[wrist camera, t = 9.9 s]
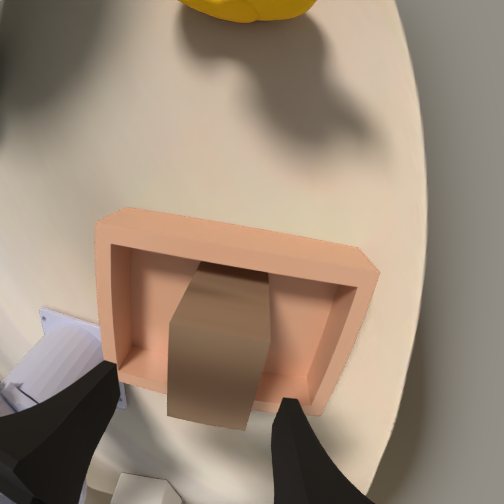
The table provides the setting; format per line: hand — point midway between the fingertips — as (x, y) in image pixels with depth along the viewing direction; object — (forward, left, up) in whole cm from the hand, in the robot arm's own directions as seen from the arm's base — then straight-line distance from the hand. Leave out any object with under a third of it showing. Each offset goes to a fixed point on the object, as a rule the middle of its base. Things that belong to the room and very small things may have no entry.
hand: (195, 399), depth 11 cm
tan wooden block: (0, -1, -8) cm, 8 cm away
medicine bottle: (-33, +6, -9) cm, 35 cm away
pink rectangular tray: (0, -1, -9) cm, 9 cm away
